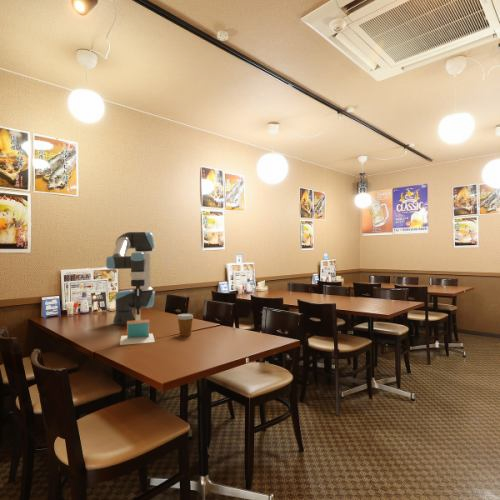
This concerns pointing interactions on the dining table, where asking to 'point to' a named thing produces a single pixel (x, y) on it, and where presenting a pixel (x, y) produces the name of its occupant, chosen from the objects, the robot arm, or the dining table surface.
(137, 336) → the tile
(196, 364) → the dining table surface
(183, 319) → the disposable coffee cup
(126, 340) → the mat
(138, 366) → the dining table surface
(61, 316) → the dining table surface
